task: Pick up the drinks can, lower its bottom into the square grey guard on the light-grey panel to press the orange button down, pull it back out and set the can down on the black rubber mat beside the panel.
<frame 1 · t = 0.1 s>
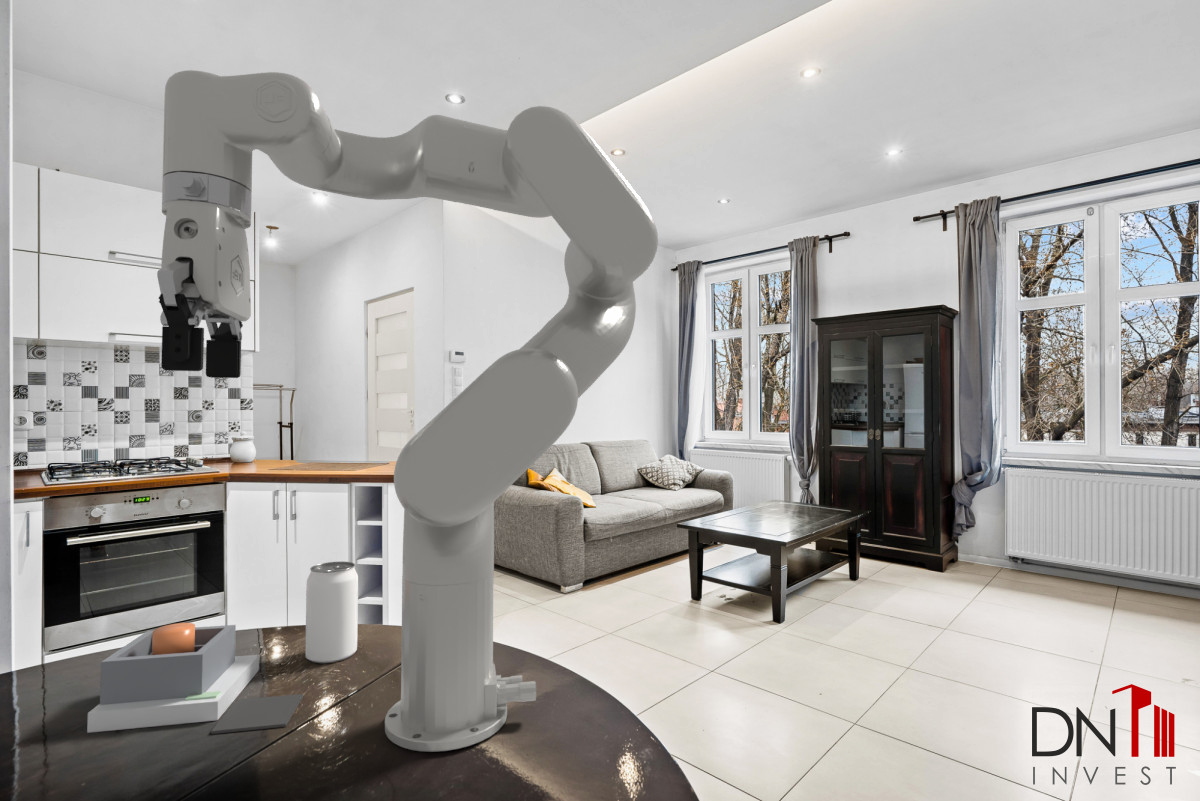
hand: (204, 374, 60), 37 cm above the table, tool pointing down, fingers open, 9 cm apart
mat: (260, 714, 66), on the table
button: (172, 698, 69), resting on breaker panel, slide at 0.0 cm
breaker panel: (182, 698, 69), on the table
can: (331, 656, 82), on the table
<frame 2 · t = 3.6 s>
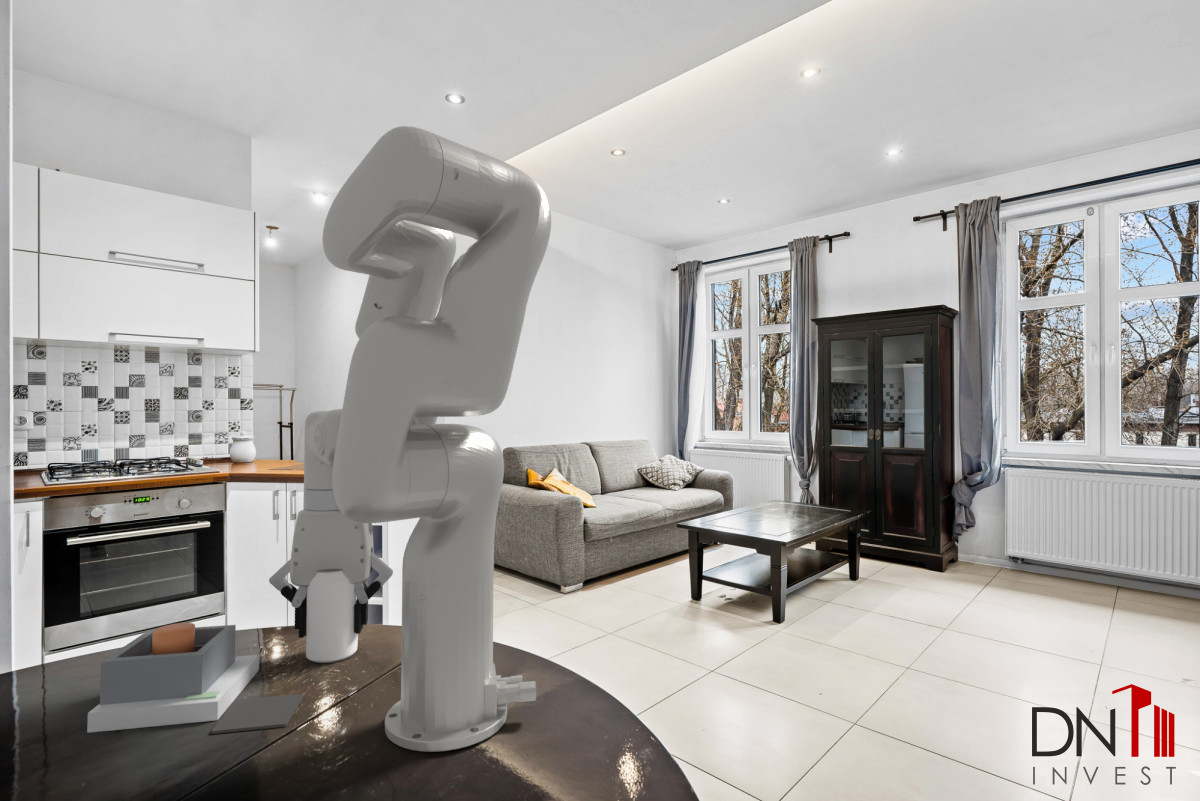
hand: (331, 631, 82), 3 cm above the table, tool pointing down, fingers closed on can, 6 cm apart
can: (332, 656, 82), on the table, touching gripper
everything else where it was.
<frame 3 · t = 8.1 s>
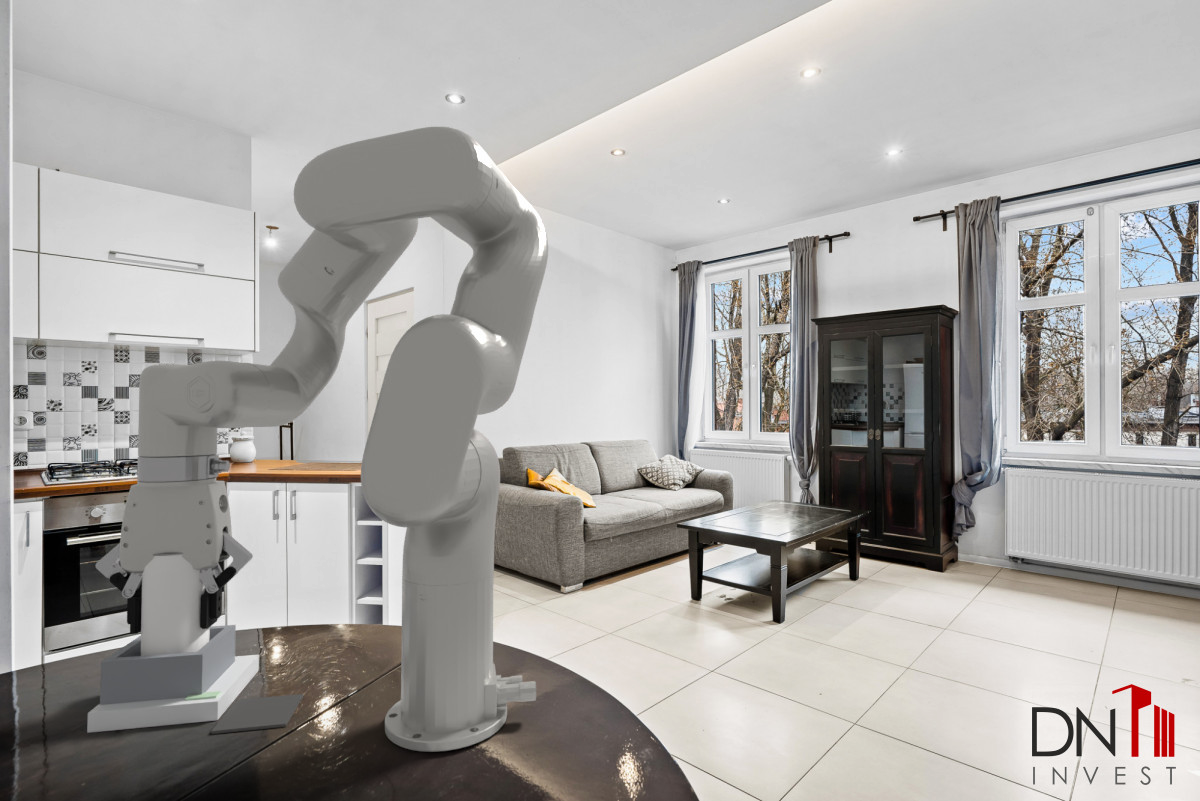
hand: (175, 625, 69), 8 cm above the table, tool pointing down, fingers closed on can, 6 cm apart
button: (172, 724, 69), resting on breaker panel, slide at 2.9 cm, touching can
can: (175, 655, 69), point 5 cm above the table, touching button, gripper
when the fingers open (4 cm above the table, at t = 13.5 s): can stays where it is, resting on mat.
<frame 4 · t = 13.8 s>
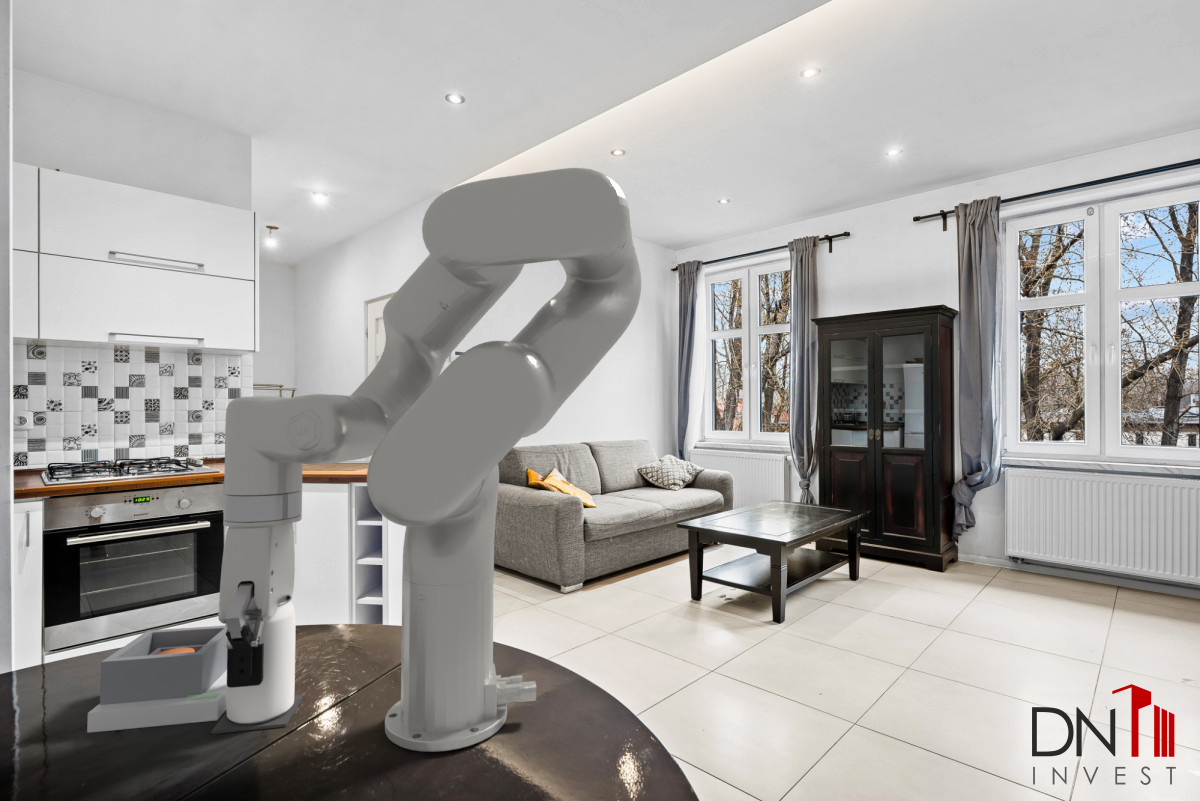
hand: (261, 665, 66), 5 cm above the table, tool pointing down, fingers open, 9 cm apart
button: (172, 724, 69), resting on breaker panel, slide at 2.9 cm
can: (261, 713, 66), resting on mat
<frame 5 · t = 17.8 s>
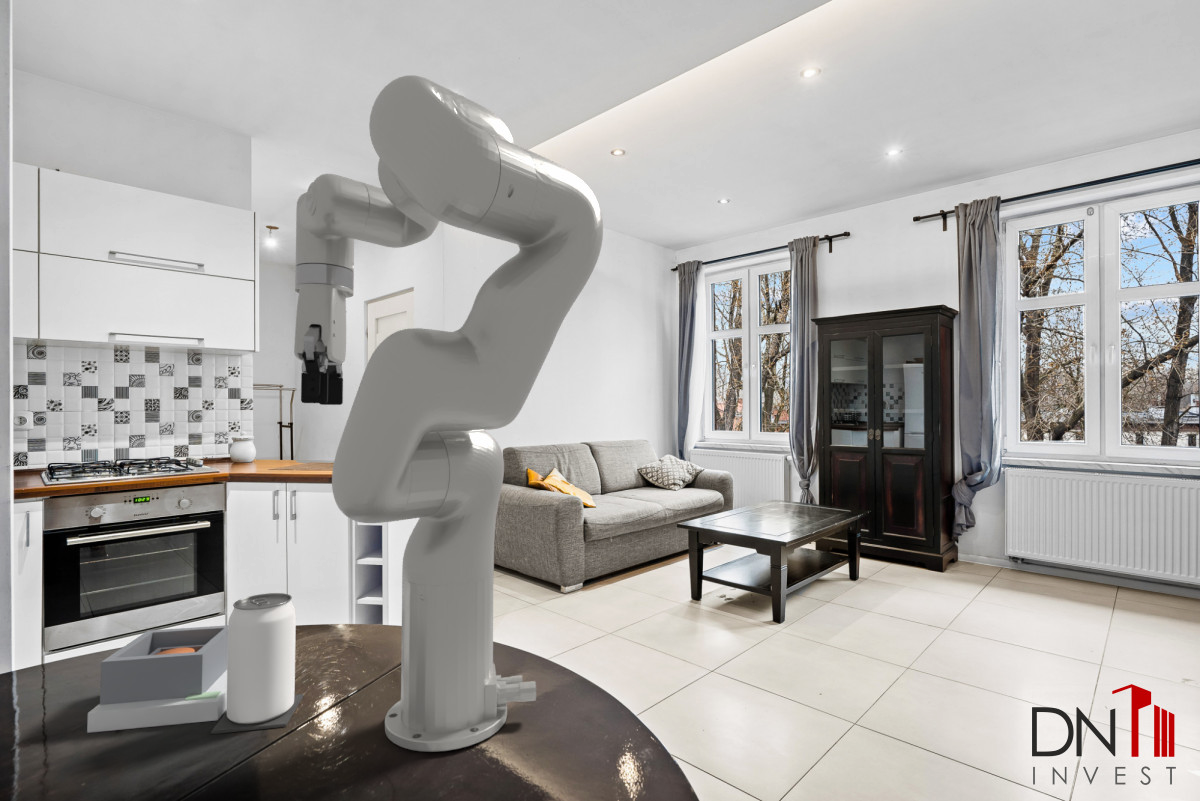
hand: (323, 403, 85), 34 cm above the table, tool pointing down, fingers open, 9 cm apart
nothing on the table moved.
at the end: button slide at 2.9 cm; can inside the target area (0.1 cm from its centre), resting on mat; can tilted 0° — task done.
